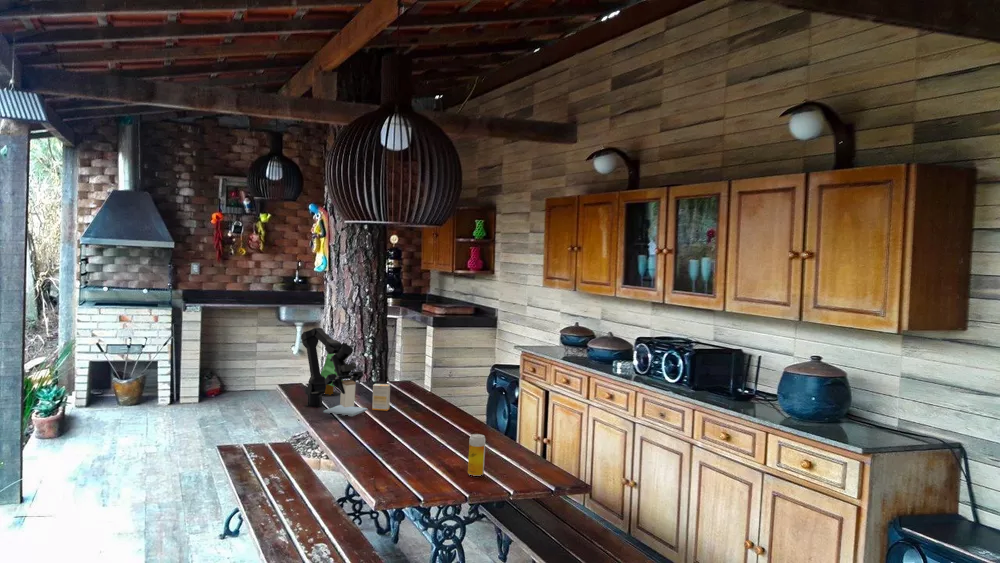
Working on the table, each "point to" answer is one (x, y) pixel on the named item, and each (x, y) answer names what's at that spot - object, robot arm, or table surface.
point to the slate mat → (345, 410)
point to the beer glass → (476, 455)
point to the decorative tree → (326, 371)
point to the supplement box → (381, 397)
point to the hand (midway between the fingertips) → (349, 392)
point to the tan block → (348, 393)
